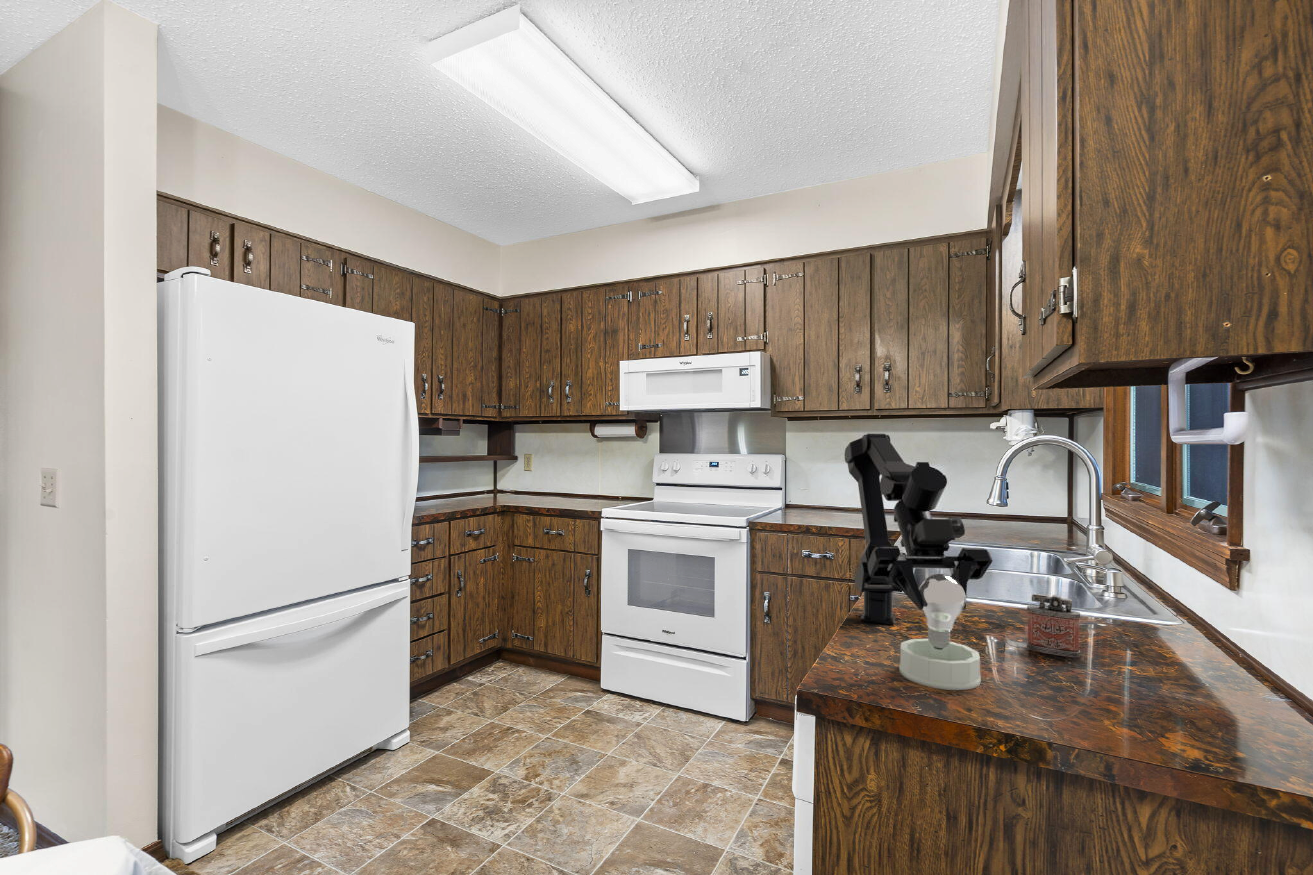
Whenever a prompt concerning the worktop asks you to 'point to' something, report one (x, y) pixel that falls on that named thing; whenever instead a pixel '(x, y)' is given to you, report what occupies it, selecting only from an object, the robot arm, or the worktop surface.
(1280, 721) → the worktop surface
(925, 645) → the bulb holder
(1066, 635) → the lighter
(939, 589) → the light bulb
